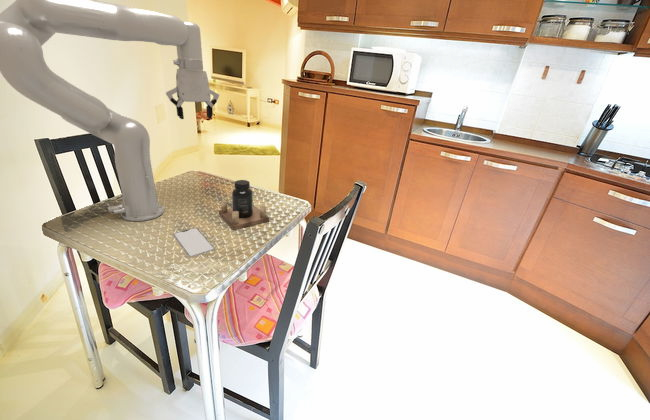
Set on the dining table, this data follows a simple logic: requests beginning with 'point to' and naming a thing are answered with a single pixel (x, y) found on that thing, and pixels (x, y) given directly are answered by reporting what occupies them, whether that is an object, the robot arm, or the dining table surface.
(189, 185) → the dining table surface
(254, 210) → the board
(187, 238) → the smartphone
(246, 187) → the supplement bottle
